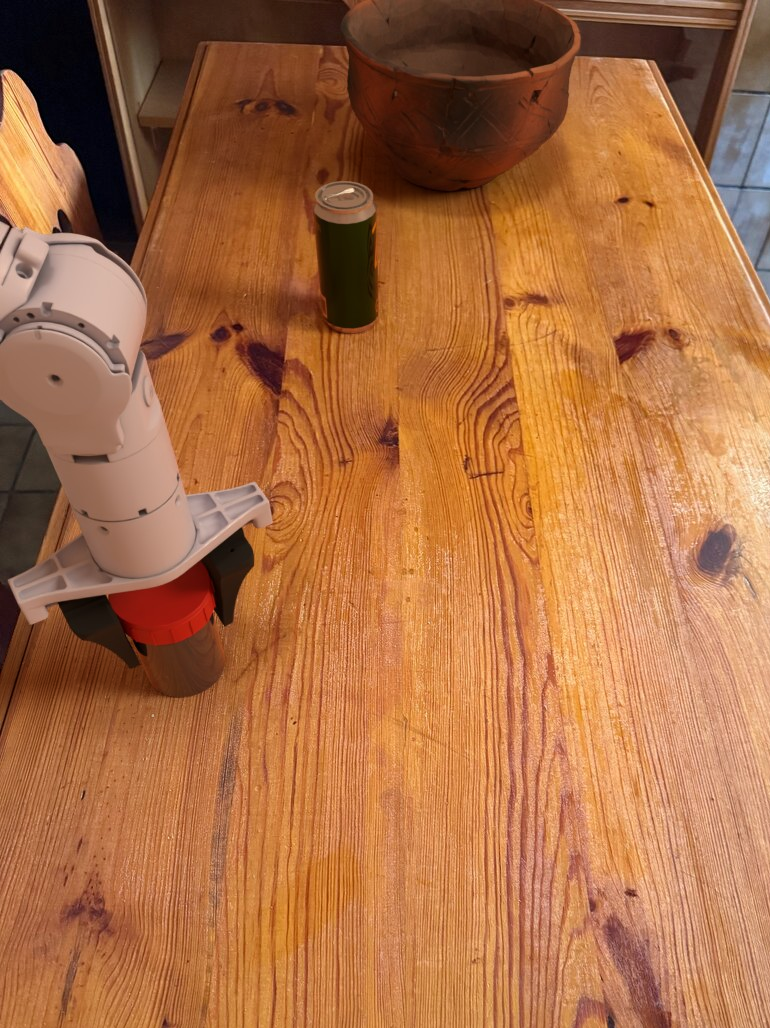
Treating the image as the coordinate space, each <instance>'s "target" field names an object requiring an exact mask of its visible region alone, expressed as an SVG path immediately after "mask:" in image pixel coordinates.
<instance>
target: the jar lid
mask: <svg viewBox="0 0 770 1028" xmlns="http://www.w3.org/2000/svg"><path fill="white" fill-rule="evenodd" d="M214 592H215V589H214V586H213V582H212V578H210V576H209V573H208V571H207V569H206V567H205V566H204V564H203V563H202V562H201V561H200V560H199V561H198V562H197V563H196V564H194V565H193V566H192V567H191V568H190V569H188V570H187V571H186V572H185V573H183V574H182V575H180V576H179V577H178V578H176V579H174V580H172V581H170V582H168V583H166V584H163V585H160V586H157V587H152V588H147V589H140V590H133V591H127V592H120V593H113V594H107V595H108V596H107V598H108V600H109V602H110V604H111V606H112V608H113V610H114V612H115V614H116V616H117V618H118V620H119V621H120V624H121V627H122V630H123V632H124V633H125V634H126V636H127V637H128V638H130V639H131V638H132V639H134V640H135V641H136V642H140V643H144V644H149V645H154V646H156V645H167V644H173V643H177V642H180V641H182V640H185V639H187V638H189V637H191V636H192V635H195V633H197V632H198V631H199V630H200V629H202V628H203V626H204V625H205V624H206V623H207V622H209V619H210V617H211V615H212V613H213V614H214V607H216V605H215V595H214ZM132 639H131V640H132Z"/></svg>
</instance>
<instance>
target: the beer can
mask: <svg viewBox="0 0 770 1028" xmlns="http://www.w3.org/2000/svg"><path fill="white" fill-rule="evenodd" d="M312 211H313V212H312V213H313V226H314V235H315V236H314V238H315V248H316V260H317V261H316V262H317V272H318V285H319V286H318V287H319V297H320V308H321V314H322V317H323V319H324V321H325V322H326V324H327V325H328V327H329V328H331V329H332V330H334V331H335V332H339V333H342V334H357V333H363V332H365V331H367V330H369V329H370V328H372V327H373V326H374V324H375V322H376V321H377V319H378V317H379V313H380V312H379V311H380V306H379V305H380V303H379V302H380V301H379V263H378V262H379V260H378V259H379V258H378V221H377V204H376V203H375V200H374V193H373V191H372V190H371V189H370V188H369V187H368V186H367V185H364V184H362V183H360V182H355V181H347V180H346V181H345V180H340V181H332V182H329V183H326V184H323V185H322V186H320V187H319V188H318V189H317V190H316V191H315V193H314V203H313V208H312Z"/></svg>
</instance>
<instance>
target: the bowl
mask: <svg viewBox="0 0 770 1028" xmlns="http://www.w3.org/2000/svg"><path fill="white" fill-rule="evenodd" d="M339 27H340V34H341V36H342V38H343V40H344V42H345V43H344V44H345V46H346V50H347V54H348V69H347V80H346V84H347V88H346V90H347V94H348V99H349V102H350V106H351V109H352V111H353V113H354V114H355V117H356V118H357V120H358V122H359V123H360V125H361V127H362V128H363V130H364V131H365V133H366V134H367V135H368V137H369V138H370V139H371V141H372V142H373V143H374V145H376V147H377V148H378V149H379V150H380V152H382V153H383V155H384V156H385V157H386V158H387V159H388V160H389V161H390V163H391V164H392V166H393V168H395V170H396V171H397V173H398V174H399V176H400V177H401V178H402V179H403V180H405V181H407V182H409V183H411V184H413V185H416V186H418V187H422V188H426V189H431V190H435V191H444V192H451V191H457V190H459V189H462V188H464V189H477V188H479V187H483V186H484V185H486V184H489V183H490V182H491V181H493V180H494V179H496V178H497V177H499V176H500V175H502V174H504V173H506V172H507V171H510V170H511V169H512V168H514V167H515V166H517V165H518V164H521V162H523V161H525V160H526V159H527V158H529V157H530V156H532V155H533V154H534V153H535V152H537V151H538V150H539V148H540V147H541V146H543V145H544V144H545V143H546V142H547V141H549V140H550V139H551V138H552V137H553V135H555V133H556V132H558V131H557V130H558V129H559V127H561V126H562V124H563V122H564V121H565V118H566V115H567V112H568V107H569V98H570V93H569V88H570V79H571V72H572V68H573V65H574V61H575V58H576V56H577V54H578V53H579V52H580V50H581V45H582V34H581V31H580V28H579V26H578V24H577V23H576V22H575V21H574V20H573V19H572V18H570V17H569V16H568V15H566V14H565V13H563V12H562V11H560V10H559V9H558V8H556V7H555V6H554V5H552V4H549V3H547V2H544V1H541V0H363V1H361V2H359V3H357V4H355V5H354V6H353V7H351V8H350V9H349V10H348V11H347V12H346V13H345V15H344V16H343V18H342V19H341V22H340V25H339Z"/></svg>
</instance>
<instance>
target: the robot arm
mask: <svg viewBox="0 0 770 1028" xmlns="http://www.w3.org/2000/svg"><path fill="white" fill-rule="evenodd" d="M10 228H11V229H10ZM8 232H9V233H8ZM147 313H148V300H147V295H146V291H145V288H144V285H143V283H142V281H141V280H140V278H139V276H138V275H137V273H136V272H135V271H134V269H132V267H131V266H130V265H129V264H128V263H127V262H126V261H125V260H123V259H122V258H121V257H120V256H119V255H117V254H116V253H115V252H113V251H111V250H110V249H108V248H107V247H106V246H105V245H104V244H103V243H102V242H101V241H100V240H98V239H96V238H94V237H90V236H87V235H83V234H80V233H79V234H78V233H71V232H56V233H41V232H37V231H35V230H33V229H31V228H29V227H28V226H24V228H22V229H21V228H20V227H18V226H14V227H10V225H8V224H6V223H5V222H3V221H1V220H0V401H1V402H2V403H4V404H5V405H6V406H7V407H8V408H10V409H11V410H12V411H14V412H15V413H17V414H18V415H21V417H23V418H25V419H26V420H27V421H29V422H30V423H31V424H32V425H33V426H34V428H35V429H36V431H37V435H38V436H39V438H40V440H41V442H42V445H43V446H44V447H45V449H46V451H47V454H48V456H49V459H50V461H51V463H52V465H53V468H54V470H55V473H56V475H57V477H58V479H59V482H60V484H61V486H62V488H63V489H62V490H63V491H64V493H65V495H66V498H67V501H68V503H69V506H70V508H71V510H72V512H73V515H74V517H75V519H76V522H77V524H78V526H79V528H80V531H81V533H79V534H78V535H76V536H75V537H74V538H72V539H71V540H70V541H69V542H67V543H66V544H64V545H63V546H62V547H60V548H59V549H57V550H56V551H54V552H53V553H52V554H50V555H49V556H47V557H46V558H44V559H43V560H42V561H40V562H39V563H37V564H36V565H34V566H33V567H31V568H29V569H27V570H26V571H24V572H22V573H20V574H17V575H14V576H13V577H10V578H7V583H8V585H9V588H10V590H11V592H12V594H13V597H14V599H15V601H16V603H17V605H18V608H19V609H20V611H21V612H22V614H23V616H24V617H25V619H26V621H27V622H28V624H29V625H30V626H32V625H34V624H37V623H39V622H42V621H44V620H46V619H47V618H48V617H49V611H48V609H50V608H52V607H54V606H57V605H58V607H59V609H60V611H61V614H62V615H63V617H64V619H65V621H66V623H67V625H68V627H69V629H70V631H71V632H72V633H73V634H74V635H75V636H76V637H77V638H78V639H80V640H81V641H83V642H91V643H94V644H97V645H98V646H101V647H103V648H105V649H107V650H108V651H110V652H111V653H113V654H115V655H116V656H117V657H118V658H119V659H121V661H123V662H124V663H125V665H126V666H127V667H128V669H129V670H133V669H135V668H138V667H139V666H141V661H140V659H139V656H138V654H137V653H136V651H135V650H134V648H133V646H132V644H131V642H130V640H129V637H128V636H127V635H126V634H125V633H124V632H123V630H122V627H121V624H120V621H119V620H118V618H117V616H116V614H115V612H114V610H113V608H112V606H111V604H110V602H109V598H108V596H107V595H108V594H113V593H120V592H127V591H133V590H140V589H147V588H152V587H157V586H160V585H163V584H166V583H168V582H170V581H172V580H174V579H176V578H178V577H179V576H180V575H182V574H183V573H185V572H186V571H187V570H188V569H190V568H191V567H192V566H193V565H194V564H196V563H197V562H198V561H199V560H200V561H201V562H202V563H203V564H204V566H205V567H206V569H207V571H208V573H209V576H210V578H212V582H213V586H214V589H215V592H214V595H215V605H216V607H214V610H213V612H214V613H215V615H216V616H217V617H218V619H219V621H220V623H221V624H222V626H223V627H227V626H229V625H231V624H233V623H234V617H235V609H236V603H237V598H238V595H239V591H240V589H241V586H242V584H243V582H244V580H245V579H246V577H247V575H248V574H249V573H250V572H251V570H252V569H253V568H254V567H255V552H254V549H253V546H252V545H251V543H250V542H249V540H248V539H247V538H246V536H245V531H244V527H246V526H249V525H253V527H254V528H255V529H264V528H265V527H267V526H269V525H272V524H273V523H274V521H273V516H272V511H271V505H270V500H269V499H268V497H267V496H266V495H265V493H264V492H263V490H262V489H261V488H260V487H259V485H258V483H257V482H256V481H252V482H249V483H246V484H243V485H240V486H236V487H232V488H226V489H220V490H211V491H207V492H206V491H205V492H198V493H197V492H196V493H190V494H186V491H185V487H184V484H183V480H182V477H181V473H180V468H179V465H178V462H177V458H176V455H175V451H174V448H173V444H172V441H171V440H172V439H171V437H170V434H169V430H168V426H167V422H166V420H165V416H164V412H163V409H162V406H161V402H160V399H159V397H158V395H157V392H156V390H155V389H156V388H155V386H154V383H153V378H152V376H151V372H150V368H149V365H148V361H147V357H146V354H145V352H144V351H142V350H141V349H140V348H141V344H142V340H143V335H144V331H145V329H146V324H147V316H148V315H147Z"/></svg>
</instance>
